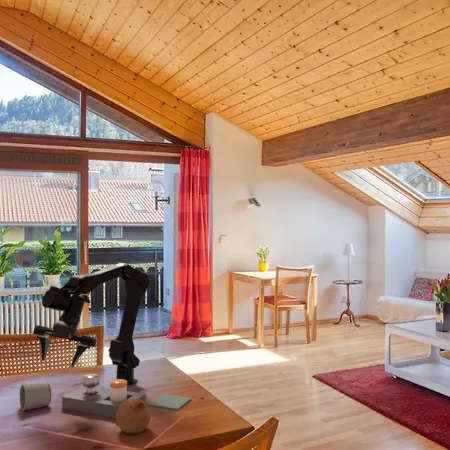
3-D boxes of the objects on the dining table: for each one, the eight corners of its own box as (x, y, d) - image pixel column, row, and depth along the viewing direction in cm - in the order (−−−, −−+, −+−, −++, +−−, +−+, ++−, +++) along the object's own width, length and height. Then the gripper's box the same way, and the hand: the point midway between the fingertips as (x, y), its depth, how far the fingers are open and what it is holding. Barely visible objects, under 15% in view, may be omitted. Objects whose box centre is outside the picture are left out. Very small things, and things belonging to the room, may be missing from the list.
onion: (143, 445, 136) (154, 417, 133) (109, 439, 134) (119, 410, 131) (145, 420, 145) (155, 393, 142) (113, 413, 143) (123, 385, 140)
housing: (86, 396, 164) (86, 384, 164) (145, 406, 156) (145, 393, 156) (62, 409, 153) (62, 396, 153) (124, 421, 145) (124, 407, 145)
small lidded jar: (115, 405, 156) (115, 378, 156) (130, 407, 154) (130, 380, 154) (106, 410, 151) (106, 383, 151) (120, 413, 149) (121, 385, 149)
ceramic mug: (52, 408, 154) (52, 383, 154) (24, 414, 149) (24, 388, 149) (43, 398, 163) (43, 374, 163) (16, 403, 158) (16, 379, 158)
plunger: (88, 394, 159) (89, 373, 159) (102, 396, 158) (102, 375, 158) (78, 399, 155) (78, 377, 155) (92, 402, 153) (92, 380, 153)
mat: (163, 396, 165) (163, 393, 165) (191, 400, 161) (191, 397, 161) (148, 407, 156) (148, 404, 156) (177, 412, 152) (177, 408, 152)
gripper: (34, 305, 152) (18, 357, 148) (94, 318, 152) (80, 371, 148) (46, 308, 163) (31, 357, 159) (102, 321, 162) (88, 370, 158)
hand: (57, 364), depth 156 cm, fingers open, 9 cm apart
